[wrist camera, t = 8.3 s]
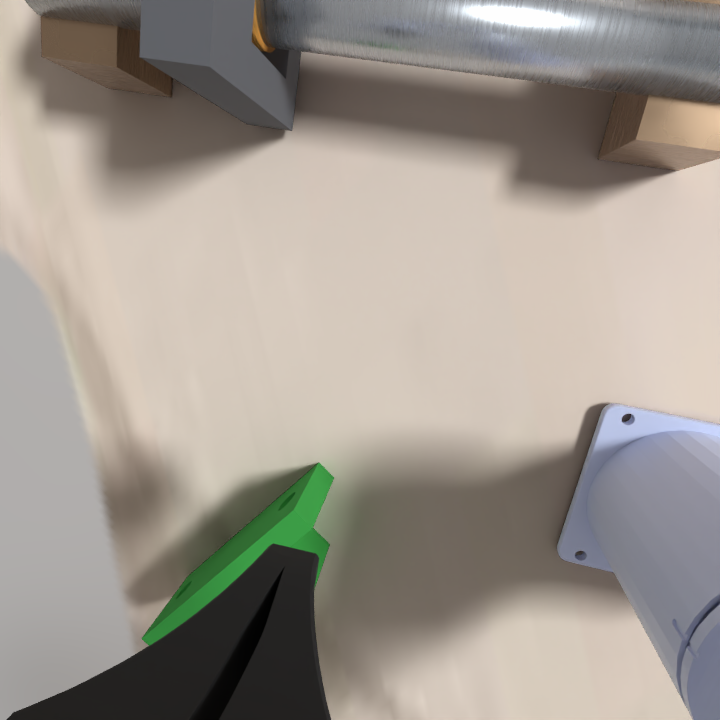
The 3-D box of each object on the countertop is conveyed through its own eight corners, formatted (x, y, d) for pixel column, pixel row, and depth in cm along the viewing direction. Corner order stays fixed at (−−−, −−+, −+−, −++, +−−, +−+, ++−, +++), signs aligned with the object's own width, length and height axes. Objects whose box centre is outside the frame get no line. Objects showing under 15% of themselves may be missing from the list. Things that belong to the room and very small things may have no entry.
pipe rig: (727, 21, 16) (845, -68, 12) (677, 170, 18) (766, 144, 13) (110, -46, 19) (2, -142, 14) (108, 87, 20) (9, 41, 16)
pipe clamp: (235, 617, 27) (195, 690, 23) (189, 573, 27) (140, 639, 22) (371, 511, 24) (355, 573, 19) (320, 460, 23) (292, 511, 19)
